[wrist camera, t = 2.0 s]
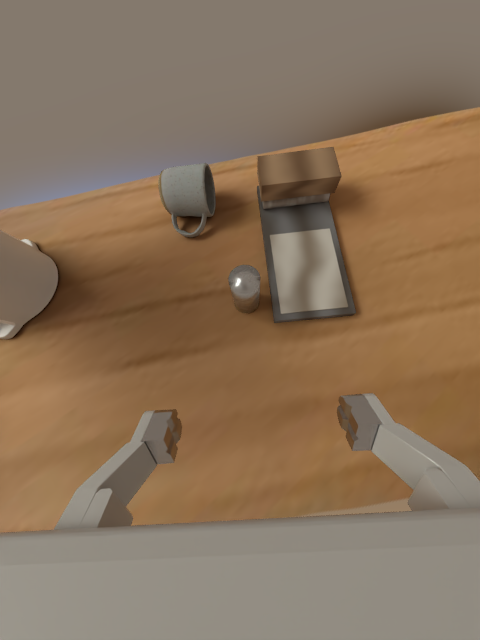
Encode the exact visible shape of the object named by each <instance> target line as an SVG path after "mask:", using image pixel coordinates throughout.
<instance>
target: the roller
mask: <svg viewBox="0 0 480 640" xmlns="http://www.w3.org/2000/svg"><path fill="white" fill-rule="evenodd" d="M229 285H230V289H231V292H232V296H233V300H234V304H235V307H236V308H237V310H238V311H240V312H242V313H251V312H253V311H255V310H256V309H257V307H258V305H259V293H260V275H259V272H258V271H257V270H256V269H255V268H254V267H252V266H249V265H241V266H238V267H236V268H234V269H233V270H232V271H231V273H230V275H229Z"/></svg>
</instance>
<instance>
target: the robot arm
mask: <svg viewBox="0 0 480 640" xmlns="http://www.w3.org/2000/svg"><path fill="white" fill-rule="evenodd" d="M57 283H58V271H57V267H56V265H55V263H54V261H53V260H52V259H51V258H50V257H49V256H47V255H45V254H44V253H42V252H40V251H39V249H38V247H37V246H36V244H35V243H34V242H32V241H30V240H28V239H23V240H19V239H17V238H15V237H13V236H11V235H9V234H7V233H5V232H3V231H1V230H0V338H1V339H10V338H12V337H13V336H15V335H16V333H17V332H18V331H19V330H20V329H21V327H22V326H23V325H24V324H25V323H26V322H27V321H29V320H30V319H32V318H33V317H35V316H36V315H37V314H38V313H40V312H41V311H42V310H43V309H44V308H45V307H46V305H47V304H48V303H49V301H50V300H51V298H52V297H53V295H54V292H55V290H56V287H57ZM339 403H340V406H339V407H338V408H337V416H338V420H339V423H340V425H341V428H343V429H344V430H345V431H346V439H347V441H348V443H349V445H350V447H351V449H352V451H361V450H372V452H373V453H374V454H375V455H376V456H377V457H378V458H379V459H381V460H382V461H383V462H384V463H385V464H386V465H387V466H388V467H389V468H390V469H391V470H392V471H394V472H395V473H396V474H397V475H398V476H399V477H400V478H401V479H402V480H403V481H404V482H406V483H407V484H408V485H409V486H410V487H411V488H412V489H413V490H414V491H413V493H412V494H411V496H410V498H409V500H408V505H409V507H410V508H411V510H412V511H405V512H404V511H403V512H384V513H365V514H345V515H326V516H307V517H288V518H268V519H249V520H230V521H211V522H192V523H173V524H154V525H135V526H131V523H132V520H133V516H132V514H131V513H130V511H129V510H128V509H127V508H126V506H127V504H128V503H129V502H130V500H131V499H132V498H133V496H134V495H135V494H136V492H137V491H138V490H139V488H140V487H141V486H142V485H143V483H144V482H145V481H146V479H147V478H148V477H149V475H150V474H151V473H152V471H153V470H154V469H155V467H156V466H157V465H156V464H166V463H174V461H175V457H176V454H177V450H178V448H177V445H176V443H177V442H178V441H179V440H180V438H181V432H182V425H181V421H180V419H178V418H177V415H178V413H177V411H176V409H173V410H154V411H145V412H144V414H143V415H142V417H141V420H140V422H139V424H138V426H137V428H136V430H135V433H134V435H133V437H132V439H131V441H130V443H126V444H125V445H124V446H123V447H122V448H121V449H120V450H119V451H118V452H117V453H116V454H114V455H113V456H112V457H111V458H110V459H109V460H108V461H107V462H106V463H105V464H104V465H103V466H101V467H100V468H99V469H98V470H97V471H96V472H95V473H94V474H93V475H92V476H91V477H90V478H88V479H87V480H86V481H85V482H84V483H83V484H82V485H81V486H80V487H79V488H78V489H77V490H76V492H75V493H74V495H73V497H72V499H71V500H70V502H69V504H68V506H67V507H66V509H65V511H64V513H63V514H62V516H61V518H60V520H59V521H58V523H57V525H56V527H55V528H54V530H40V531H21V532H2V533H0V640H480V481H479V480H478V479H477V478H476V477H475V475H474V474H473V473H472V472H471V471H470V470H469V468H468V467H467V466H466V465H464V464H463V463H461V462H459V461H458V460H456V459H455V458H453V457H452V456H450V455H448V454H447V453H445V452H444V451H442V450H441V449H439V448H437V447H436V446H434V445H433V444H431V443H429V442H428V441H426V440H425V439H423V438H422V437H420V436H418V435H417V434H415V433H414V432H412V431H411V430H409V429H407V428H406V427H404V426H403V425H401V424H399V423H395V422H394V420H393V419H392V418H391V416H390V415H389V413H388V412H387V411H386V409H385V408H384V407H383V405H382V404H381V402H380V401H379V400H378V398H377V397H376V395H375V394H373V393H369V394H355V395H344V396H340V397H339Z"/></svg>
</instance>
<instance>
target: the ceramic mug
mask: <svg viewBox="0 0 480 640" xmlns="http://www.w3.org/2000/svg"><path fill="white" fill-rule="evenodd" d="M159 192H160V197H161V200H162V203H163V205H164V207H165V209H166V210H167V211H168V212H169V213H170V214H172V223H173V226H174V228H175V229H176V231H177V232H179V233H180V234H181V235H183V236H185V237H196V236H198V235H199V234H200V233H201V232H202V231H203V229H204V227H205V224H206V218H207V217H211V216H213V215H214V211H215V187H214V181H213V177H212V173H211V170H210V167H209V165H208V164H206V163H204V164H196V165H187V166H180V167H172V168H168V169H165V170H163V171H162V172H161V174H160V176H159ZM177 216H199V217H202V221H201V224H200V226H199V227H198V229H197V230H195V232H193V233H188V232H185V231H182V230H180V229H179V228H178V225H177Z"/></svg>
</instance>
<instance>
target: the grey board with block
mask: <svg viewBox="0 0 480 640" xmlns="http://www.w3.org/2000/svg"><path fill="white" fill-rule="evenodd" d="M257 174H258V182H259V186H257V194H258V201H259V209H260V217H261V224H262V232H263V239H264V247H265V255H266V262H267V270H268V277H269V285H270V293H271V300H272V308H273V316H274V323H279V322H289V321H300V320H310V319H321V318H331V317H342V316H352V315H354V314H356V310H355V306H354V302H353V298H352V294H351V290H350V286H349V282H348V278H347V274H346V270H345V266H344V262H343V258H342V254H341V249H340V245H339V241H338V237H337V233H336V229H335V225H334V221H333V217H332V213H331V209H330V205H329V201H328V200H329V197H330V193H335V190H336V188H337V185H338V183H339V181H340V178H341V172H340V169H339V165H338V161H337V158H336V154H335V151H334V147H328V148H320V149H312V150H305V151H297V152H289V153H281V154H274V155H266V156H258V170H257Z"/></svg>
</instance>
